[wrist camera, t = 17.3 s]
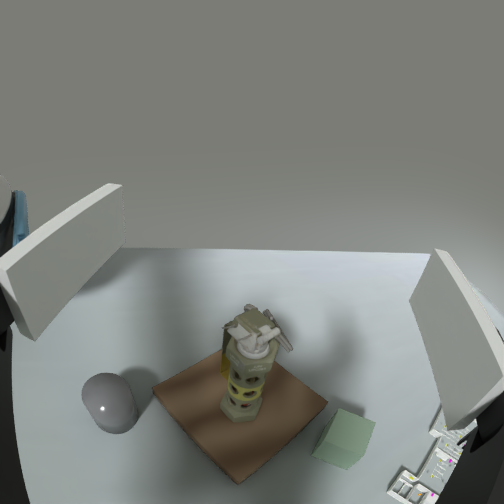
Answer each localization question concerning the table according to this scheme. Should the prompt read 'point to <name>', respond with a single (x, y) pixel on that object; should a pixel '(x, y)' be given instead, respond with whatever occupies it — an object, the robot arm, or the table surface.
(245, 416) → the grenade
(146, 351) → the table surface
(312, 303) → the table surface
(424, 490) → the floor plan model
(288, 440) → the walnut board
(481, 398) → the robot arm
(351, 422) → the green block
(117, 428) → the grey rounded block
